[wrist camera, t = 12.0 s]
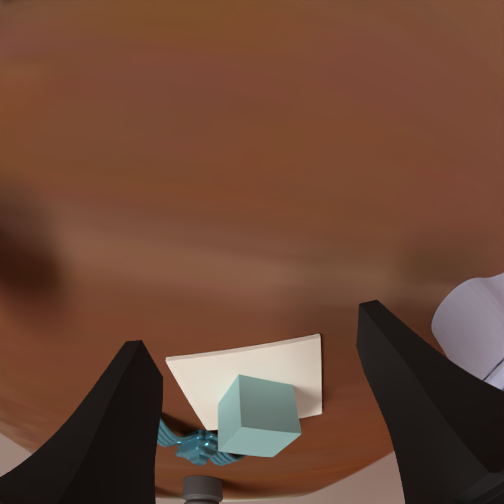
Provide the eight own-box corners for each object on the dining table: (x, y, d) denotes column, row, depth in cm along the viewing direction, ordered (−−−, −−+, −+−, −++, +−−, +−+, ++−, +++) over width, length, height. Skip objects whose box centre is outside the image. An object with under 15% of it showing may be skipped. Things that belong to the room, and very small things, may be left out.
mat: (319, 333, 23) (320, 337, 23) (320, 410, 29) (321, 413, 29) (166, 357, 23) (165, 360, 23) (207, 427, 29) (207, 430, 29)
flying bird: (126, 419, 29) (121, 448, 26) (162, 401, 27) (157, 434, 24) (223, 460, 35) (224, 484, 32) (262, 445, 33) (265, 472, 30)
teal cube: (292, 384, 25) (301, 433, 21) (267, 412, 28) (272, 457, 23) (238, 374, 24) (241, 426, 20) (217, 404, 26) (218, 451, 22)
